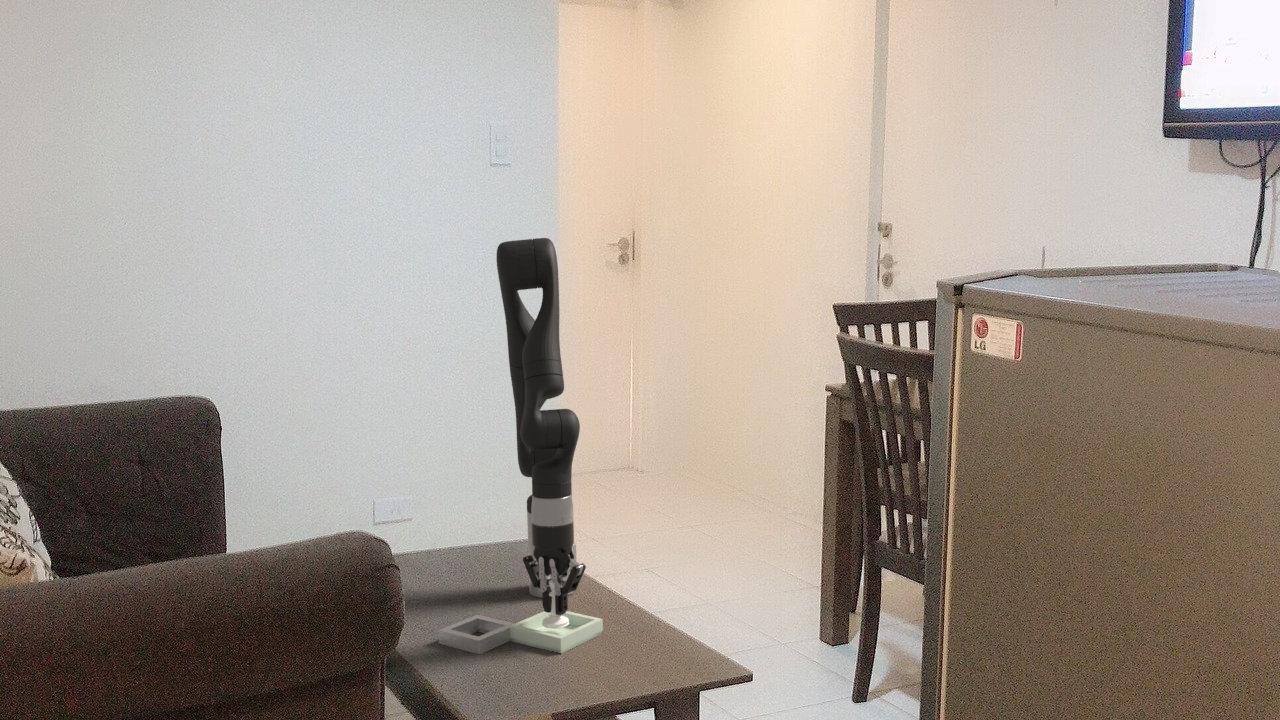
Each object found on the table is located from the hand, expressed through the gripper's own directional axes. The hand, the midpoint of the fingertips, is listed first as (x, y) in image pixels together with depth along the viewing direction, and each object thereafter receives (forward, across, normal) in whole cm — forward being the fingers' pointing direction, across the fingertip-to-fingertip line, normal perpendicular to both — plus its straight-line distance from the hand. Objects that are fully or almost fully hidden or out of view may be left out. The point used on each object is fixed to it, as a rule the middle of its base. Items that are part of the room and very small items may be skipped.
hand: (555, 612), depth 210 cm
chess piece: (+2, 0, 0) cm, 2 cm away
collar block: (+5, +11, +9) cm, 15 cm away
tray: (+5, 0, 0) cm, 5 cm away
